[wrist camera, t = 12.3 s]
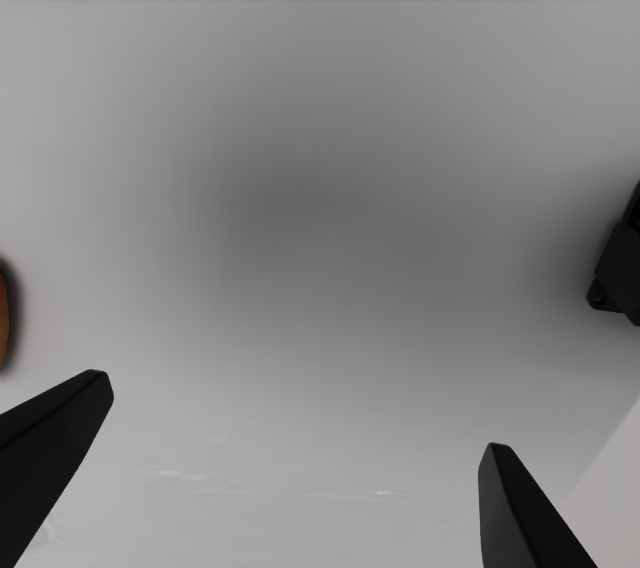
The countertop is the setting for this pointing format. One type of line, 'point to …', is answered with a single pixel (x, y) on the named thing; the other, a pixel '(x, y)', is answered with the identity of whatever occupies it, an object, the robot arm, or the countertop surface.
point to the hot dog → (3, 320)
